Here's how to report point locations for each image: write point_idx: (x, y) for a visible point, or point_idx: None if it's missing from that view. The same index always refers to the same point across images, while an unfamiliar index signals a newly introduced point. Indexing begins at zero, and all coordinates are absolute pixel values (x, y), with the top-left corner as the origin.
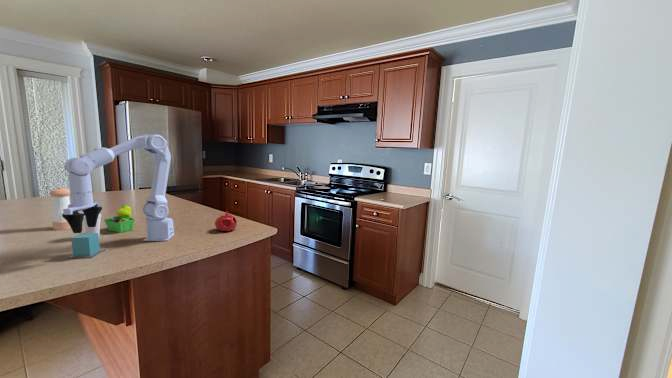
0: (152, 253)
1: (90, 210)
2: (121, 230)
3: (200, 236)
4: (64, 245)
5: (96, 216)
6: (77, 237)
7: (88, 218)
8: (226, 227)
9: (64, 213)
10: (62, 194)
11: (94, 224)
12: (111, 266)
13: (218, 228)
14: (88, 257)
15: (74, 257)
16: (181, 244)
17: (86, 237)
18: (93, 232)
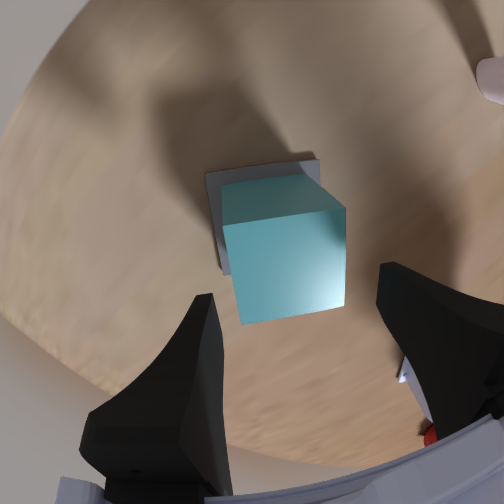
0: (279, 410)
1: (461, 399)
2: None
3: (412, 414)
4: (391, 9)
5: (420, 378)
6: (236, 260)
7: (424, 315)
8: (425, 445)
9: (62, 493)
10: None
11: (385, 318)
12: None
13: (434, 431)
14: (221, 259)
15: (209, 201)
16: (353, 421)
17: (242, 312)
18: (499, 93)
